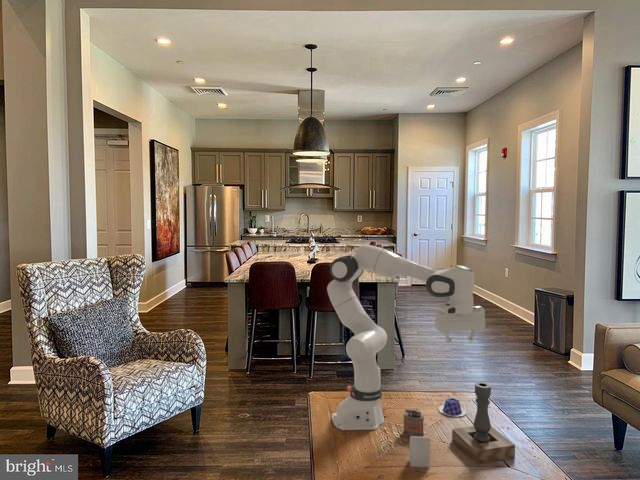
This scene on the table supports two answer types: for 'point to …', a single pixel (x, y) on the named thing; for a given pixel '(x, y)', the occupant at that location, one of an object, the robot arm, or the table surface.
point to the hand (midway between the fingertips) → (459, 341)
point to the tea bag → (419, 451)
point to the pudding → (452, 408)
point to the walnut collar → (483, 445)
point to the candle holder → (482, 412)
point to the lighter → (413, 423)
